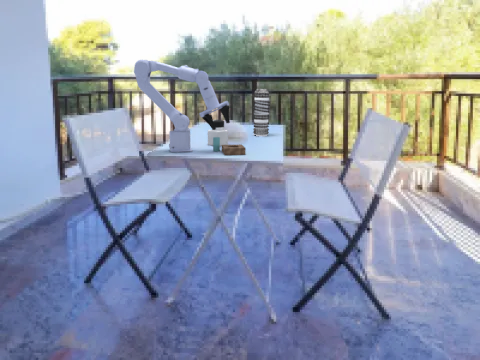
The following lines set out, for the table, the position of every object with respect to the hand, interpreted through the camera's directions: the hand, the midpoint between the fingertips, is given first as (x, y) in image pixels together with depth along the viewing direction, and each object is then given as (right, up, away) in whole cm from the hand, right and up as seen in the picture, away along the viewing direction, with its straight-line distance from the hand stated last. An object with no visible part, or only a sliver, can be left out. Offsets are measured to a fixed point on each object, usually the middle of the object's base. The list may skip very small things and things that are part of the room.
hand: (221, 126), depth 209 cm
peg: (-2, -11, +2) cm, 11 cm away
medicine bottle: (-2, -7, +18) cm, 19 cm away
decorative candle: (+20, +1, +50) cm, 53 cm away
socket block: (+5, -12, -3) cm, 14 cm away
